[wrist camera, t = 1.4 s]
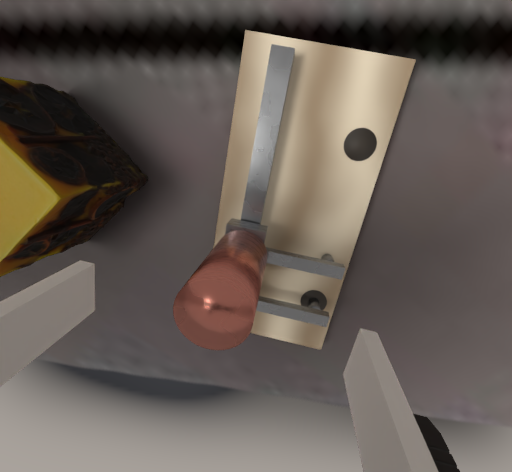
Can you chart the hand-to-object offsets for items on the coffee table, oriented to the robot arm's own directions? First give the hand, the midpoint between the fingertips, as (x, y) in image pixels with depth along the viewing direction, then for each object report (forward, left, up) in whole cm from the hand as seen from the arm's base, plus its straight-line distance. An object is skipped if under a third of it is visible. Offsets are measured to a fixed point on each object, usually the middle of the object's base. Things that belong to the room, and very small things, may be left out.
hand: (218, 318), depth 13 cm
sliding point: (+3, 0, -11) cm, 12 cm away
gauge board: (+3, +3, -13) cm, 13 cm away
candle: (-17, +3, -13) cm, 22 cm away
